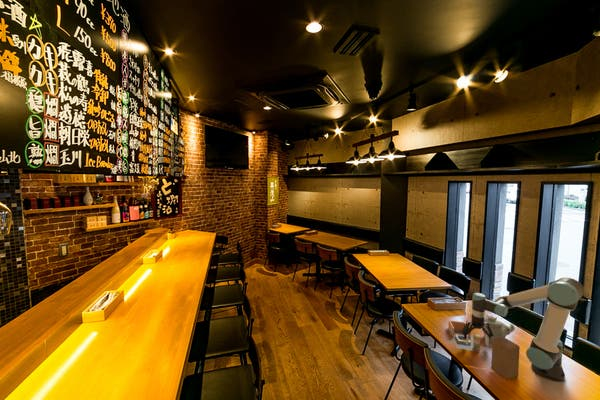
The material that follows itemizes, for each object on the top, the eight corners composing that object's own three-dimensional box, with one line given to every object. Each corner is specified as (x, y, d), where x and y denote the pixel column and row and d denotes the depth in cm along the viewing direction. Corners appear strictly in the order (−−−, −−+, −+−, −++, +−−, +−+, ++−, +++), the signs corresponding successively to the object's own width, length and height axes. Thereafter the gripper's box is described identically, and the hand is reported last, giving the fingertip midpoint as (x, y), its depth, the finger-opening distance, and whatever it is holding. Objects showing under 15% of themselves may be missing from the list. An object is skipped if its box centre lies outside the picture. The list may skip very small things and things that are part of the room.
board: (482, 353, 177) (482, 352, 177) (456, 349, 182) (456, 348, 182) (468, 332, 203) (468, 330, 203) (446, 328, 207) (446, 327, 207)
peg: (481, 351, 178) (481, 337, 177) (474, 350, 179) (475, 336, 179) (478, 347, 182) (479, 334, 181) (472, 346, 183) (472, 333, 182)
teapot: (514, 344, 187) (515, 320, 185) (503, 350, 180) (504, 325, 179) (489, 333, 201) (490, 310, 200) (478, 338, 195) (479, 314, 194)
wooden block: (506, 380, 153) (508, 348, 152) (490, 368, 162) (491, 338, 161) (518, 377, 156) (520, 345, 154) (502, 365, 165) (503, 336, 164)
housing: (470, 339, 191) (470, 330, 190) (452, 337, 194) (452, 328, 194) (465, 330, 202) (465, 322, 202) (448, 328, 206) (448, 320, 205)
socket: (470, 344, 185) (470, 342, 185) (458, 343, 187) (458, 340, 187) (466, 338, 193) (467, 336, 193) (454, 336, 195) (455, 334, 195)
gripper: (493, 313, 181) (492, 342, 183) (456, 311, 184) (455, 339, 186) (500, 319, 174) (499, 349, 175) (461, 317, 177) (460, 346, 178)
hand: (476, 344), depth 180 cm, fingers open, 13 cm apart
